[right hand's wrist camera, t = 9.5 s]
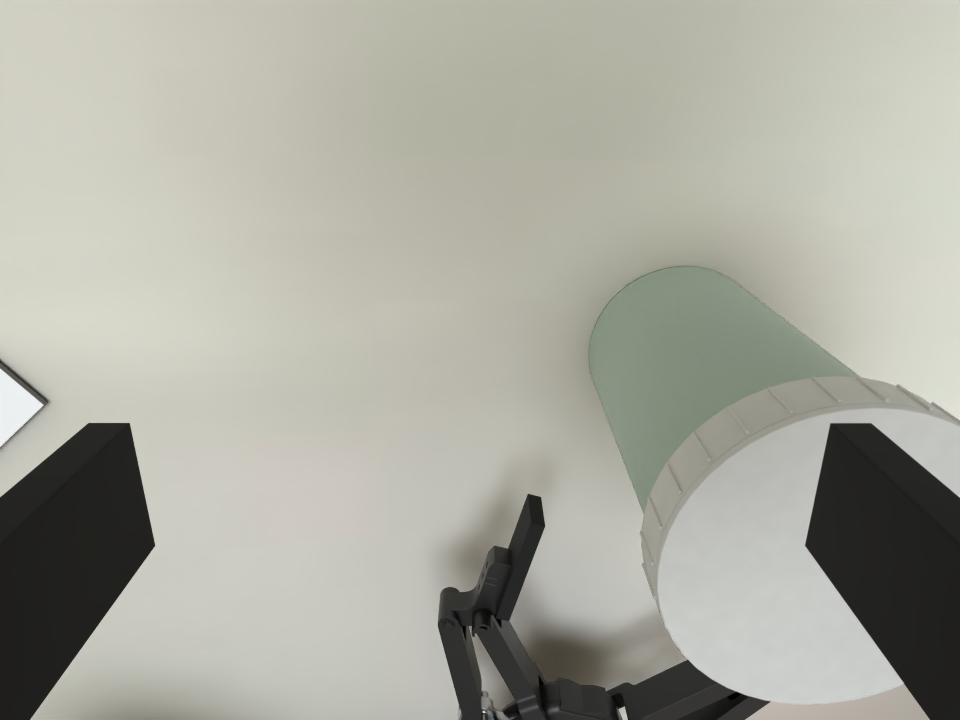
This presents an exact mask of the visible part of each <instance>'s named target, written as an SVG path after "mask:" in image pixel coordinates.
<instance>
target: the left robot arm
mask: <svg viewBox="0 0 960 720" xmlns="http://www.w3.org/2000/svg"><path fill="white" fill-rule="evenodd" d="M544 528H545V522H544V515H543V508H542V501H541V497H538V496H534V495H530V494H528V495H527V498H526V501H525V504H524V506H523V509H522V512H521V515H520V517H519V520H518V523H517V526H516V528H515V531H514V534H513V537H512V540H511V542H510V545H509V548H508V549H506V548H502V547H498V546H494V547H493V548H492V549H491V550H490V551H489V552H488V555H487V558H486V561H485V564H484V566H483V569H482V572H481V575H480V578H479V581H478V584H477V586H476V587H475V588H474V589H473V590H471V591H469V592H459V590H457V589H456V588H453V587H448V588H445V589H443V590H442V592H441V594H440V604H439V616H438V628H439V632H440V636H441V639H442V643H443V647H444V651H445V654H446V658H447V662H448V665H449V669H450V673H451V677H452V680H453V684H454V688H455V691H456V695H457V699H458V703H459V719H458V720H622V717H621V715H620V712H619V710H618V709H620V708H622V707H624V706H625V709H626V713H627V717H628V720H745V719H746V718H748V717H749V716H751V715H752V714H754V713H755V712H756V711H758V710H759V709H761V708H762V707H764V706H765V705H767V704H768V703H769V702H771V701H766V700H762V699H758V698H754V697H750V696H747V695H744V694H741V693H739V692H736V691H734V690H731V689H729V688H727V687H725V686H723V685H721V684H719V683H718V682H716V681H714V680H712V679H711V678H709V677H708V676H707V675H705V674H704V673H702V672H701V671H700V670H698V669H697V668H696V667H695V666H694V665H693V664H692V663H691V662H690V661H689V660H686V661H684V662H682V663H680V664H678V665H676V666H674V667H672V668H670V669H668V670H665V671H663V672H661V673H659V674H657V675H655V676H653V677H651V678H649V679H647V680H645V681H642V682H640V683H638V684H636V685H632V684H630V683H627V682H626V683H623V684H621V685H619V686H617V687H615V688H613V689H611V690H609V691H605V688H603V687H598V686H594V685H579V684H577V683H574V682H572V681H570V680H567V679H562V678H557V681H553V682H548V683H546V681H545V679H544V678H543V676H542V674H541V672H540V670H539V669H538V667H537V665H536V663H535V662H532V661H531V659H530V658H529V656H528V654H527V652H526V650H525V649H524V647H523V645H522V643H521V641H520V640H519V638H518V636H517V634H516V632H515V631H514V629H513V627H512V625H511V623H510V622H509V620H510V617H511V614H512V612H513V609H514V607H515V604H516V601H517V599H518V596H519V593H520V591H521V588H522V586H523V583H524V580H525V578H526V575H527V572H528V570H529V567H530V564H531V562H532V559H533V557H534V554H535V551H536V549H537V546H538V543H539V541H540V538H541V535H542V533H543V530H544ZM469 626H472V636H473V637H474V636H475V633H477V635H478V636H479V638H480V640H481V642H482V643H483V645H484V647H485V648H486V650H487V652H488V654H489V655H490V657H491V659H492V660H493V662H494V664H495V666H496V667H497V669H498V671H499V672H500V674H501V676H502V678H503V679H504V681H505V683H506V684H507V686H508V688H509V690H510V691H511V693H512V695H513V696H514V698H515V701H514V702H512V703H510V704H508V705H507V706H506V707H504V709H503V710H502V711H498V710H496V709H495V708H494V706H493V701H492V700H491V699H490V698H488V693H487V692H486V691H482V683H481V675H480V670H479V666H478V662H477V658H476V654H475V650H474V646H473V642H472V638H471V634H470V630H469Z"/></svg>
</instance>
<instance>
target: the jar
mask: <svg viewBox="0 0 960 720" xmlns="http://www.w3.org/2000/svg"><path fill="white" fill-rule="evenodd" d="M589 365H590V372H591V375H592V379H593V382H594V385H595V387H596V390H597V393H598V395H599V398H600V400H601V403H602V406H603V408H604V411H605V414H606V416H607V419H608V422H609V424H610V427H611V429H612V432H613V435H614V437H615V440H616V443H617V445H618V448H619V450H620V453H621V456H622V458H623V461H624V464H625V466H626V469H627V471H628V474H629V477H630V479H631V482H632V485H633V487H634V490H635V493H636V495H637V498H638V500H639V503H640V506H641V508H642V511H643V514H644V513H645V508H646V505H647V502H648V500H647V498H648V496H650V493H651V490H652V488H653V486H654V484H655V482H656V480H657V478H658V476H659V474H660V472H661V471H662V469H663V468H664V466H665V463H667V462H668V460H669V459H670V458H671V456H672V455H673V454H674V452H675V451H676V450H677V449H678V448H679V447H680V446H681V444H682V443H683V442H684V441H685V440H686V439H687V438H688V437H689V436H690V435H691V433H693V432H694V431H696V430H697V429H698V428H699V427H700V426H701V425H702V424H703V423H705V422H706V421H707V420H709V419H710V418H712V417H713V416H714V415H716V414H717V413H719V412H720V411H722V410H723V409H725V408H726V407H728V406H730V405H732V404H734V403H736V402H737V401H739V400H741V399H743V398H745V397H747V396H750V395H752V394H754V393H757V392H759V391H762V390H764V389H767V388H768V387H773V386H777V385H780V384H783V383H787V382H791V381H796V380H802V379H808V378H812V377H831V376H844V377H856V376H859V375H857V374H856V373H855V372H853V371H852V370H851V369H849V368H848V367H847V366H846V365H844V364H843V363H842V362H840V361H839V360H838V359H836V358H835V357H834V356H832V355H831V354H830V353H828V352H827V351H826V350H824V349H823V348H822V347H820V346H819V345H818V344H817V343H815V342H814V341H813V340H811V339H810V338H809V337H807V336H806V335H805V334H803V333H802V332H801V331H799V330H798V329H797V328H795V327H794V326H793V325H791V324H790V323H789V322H788V321H786V320H785V319H784V318H782V317H781V316H780V315H778V314H777V313H776V312H774V311H773V310H772V309H770V308H769V307H768V306H766V305H765V304H764V303H762V302H761V301H760V300H758V299H757V298H756V297H755V296H753V295H752V294H751V293H749V292H748V291H747V290H745V289H744V288H743V287H741V286H740V285H739V284H737V283H736V282H734V281H733V280H732V279H730V278H729V277H727V276H725V275H723V274H721V273H718V272H715V271H712V270H710V269H705V268H700V267H689V266H682V267H671V268H666V269H661V270H658V271H655V272H652V273H649V274H647V275H645V276H643V277H641V278H638V279H637V280H635V281H634V282H632V283H630V284H629V285H627V286H626V287H625V288H624V289H622V290H621V291H620V292H619V293H618V294H617V295H616V296H615V297H614V298H613V299H612V300H611V301H610V302H609V304H608V305H607V306H606V307H605V309H604V310H603V312H602V313H601V315H600V317H599V319H598V320H597V323H596V325H595V328H594V330H593V333H592V337H591V341H590V348H589Z"/></svg>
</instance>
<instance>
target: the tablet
mask: <svg viewBox="0 0 960 720" xmlns="http://www.w3.org/2000/svg"><path fill="white" fill-rule="evenodd" d="M45 404H47V402H46V401H45V400H44V399H43V398H41V397H40V396H39V395H38V394H37V393H36V392H34V391H33V390H32V389H31V388H30V387H28V386H27V385H26V384H25V383H24V382H22V381H21V380H20V379H19V378H18V377H17V376H15V375H14V374H13V373H12V372H11V371H9V370H8V369H7V368H6V367H5V366H3V365H2V364H1V363H0V448H1V447H2V446H3V445H4V444H5V443H6V442H7V441H8V440H9V439H10V438H11V437H12V436H13V435H14V434H15V433H16V432H17V431H18V430H19V429H20V428H21V427H23V426H24V425H25V424H26V423H27V422H28V421H29V420H30V419H31V418H32V417H33V416H34V415H35V414H36V413H37V412H38V411H39V410H40V409H41V408H42V407H43V406H44V405H45Z"/></svg>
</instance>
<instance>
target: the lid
mask: <svg viewBox="0 0 960 720" xmlns="http://www.w3.org/2000/svg"><path fill="white" fill-rule="evenodd" d="M830 423H872V424H873V425H874V426H875V427H876V428H878V429H879V430H880V431H881V432H882V433H884V434H885V435H886V436H887V437H888V438H890V439H891V440H892V441H893V442H894V443H896V444H897V445H898V446H899V447H900V448H901V449H903V450H904V451H905V452H906V453H907V454H909V455H910V456H911V457H912V458H913V459H915V460H916V461H917V462H918V463H919V464H921V465H922V466H923V467H924V468H925V469H926V470H928V471H929V472H930V473H931V474H932V475H934V476H935V477H936V478H937V479H938V480H940V481H941V482H942V483H943V484H944V485H945V486H947V487H948V488H949V489H950V490H951V491H953V492H954V493H955V494H956V495H957V496H959V497H960V420H958V419H957V418H955V417H954V416H952V415H951V414H949V413H948V412H947V411H945V410H944V409H942V408H941V407H939V406H938V405H936V404H935V403H934V402H932V403H931V404H930V403H928V402H927V401H926V400H924V399H923V398H921V397H919V396H917V395H915V394H913V393H911V392H909V391H908V390H906V389H905V388H903V387H902V386H901V385H898V384H897V386H894V385H891V384H888V383H885V382H882V381H876V380H871V379H866V378H861V377H860V376H856V377H844V376H831V377H812V378H808V379H802V380H796V381H791V382H787V383H783V384H780V385H777V386H773V387H768V388H767V389H764V390H762V391H759V392H757V393H754V394H752V395H750V396H747V397H745V398H743V399H741V400H739V401H737V402H736V403H734V404H732V405H730V406H728V407H726V408H725V409H723V410H722V411H720V412H719V413H717V414H716V415H714V416H713V417H712V418H710V419H709V420H707V421H706V422H705V423H703V424H702V425H701V426H700V427H699V428H698V429H697V430H696V431H694V432H693V433H691V435H690V436H689V437H688V438H687V439H686V440H685V441H684V442H683V443H682V444H681V446H680V447H679V448H678V449H677V450H676V451H675V452H674V454H673V455H672V456H671V458H670V459H669V460H668V462H667V463H665V466H664V468H663V469H662V471H661V472H660V474H659V476H658V478H657V480H656V482H655V484H654V486H653V488H652V490H651V493H650V496H648V498H647V500H648V502H647V505H646V508H645V513H644V518H643V524H642V531H640V535H641V537H642V543H641V545H642V553H643V560H644V563H642V566H643V569H644V572H645V574H646V577H647V580H648V583H649V586H650V589H651V592H652V595H653V598H654V599H655V600H656V603H657V606H658V609H659V612H660V615H661V618H662V621H663V624H664V626H665V629H667V630H668V632H669V634H670V636H671V638H672V640H673V642H674V643H675V644H676V646H677V647H678V648H679V650H680V651H681V653H682V654H683V655H684V656H685V657H686V658H687V659H688V660H689V661H690V662H691V663H692V664H693V665H694V666H695V667H696V668H697V669H698V670H700V671H701V672H702V673H704V674H705V675H707V676H708V677H709V678H711V679H712V680H714V681H716V682H718V683H719V684H721V685H723V686H725V687H727V688H729V689H731V690H734V691H736V692H739V693H741V694H744V695H747V696H750V697H754V698H758V699H762V700H766V701H772V702H779V703H785V704H803V705H810V704H830V703H837V702H844V701H851V700H855V699H859V698H864V697H868V696H872V695H875V694H878V693H881V692H884V691H887V690H890V689H893V688H896V687H898V686H900V685H903V684H904V683H903V681H902V680H901V679H900V677H899V676H898V674H897V673H896V672H895V670H894V669H893V667H892V666H891V665H890V663H889V662H888V660H887V659H886V658H885V656H884V655H883V654H882V652H881V651H880V649H879V648H878V647H877V645H876V644H875V642H874V641H873V640H872V638H871V637H870V635H869V634H868V633H867V631H866V630H865V629H864V627H863V626H862V624H861V623H860V622H859V620H858V619H857V617H856V616H855V615H854V613H853V612H852V610H851V609H850V608H849V606H848V605H847V604H846V602H845V601H844V599H843V598H842V597H841V595H840V594H839V592H838V591H837V590H836V588H835V587H834V585H833V584H832V583H831V581H830V580H829V579H828V577H827V576H826V574H825V573H824V572H823V570H822V569H821V567H820V566H819V565H818V563H817V562H816V560H815V559H814V558H813V556H812V555H811V553H810V552H809V551H808V549H807V548H806V547H805V543H806V538H807V533H808V528H809V523H810V519H811V514H812V509H813V504H814V499H815V495H816V490H817V485H818V480H819V475H820V471H821V466H822V461H823V456H824V451H825V447H826V442H827V437H828V432H829V427H830Z"/></svg>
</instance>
